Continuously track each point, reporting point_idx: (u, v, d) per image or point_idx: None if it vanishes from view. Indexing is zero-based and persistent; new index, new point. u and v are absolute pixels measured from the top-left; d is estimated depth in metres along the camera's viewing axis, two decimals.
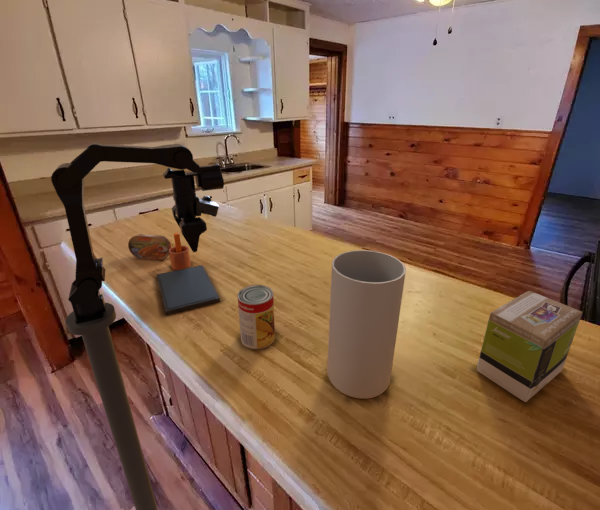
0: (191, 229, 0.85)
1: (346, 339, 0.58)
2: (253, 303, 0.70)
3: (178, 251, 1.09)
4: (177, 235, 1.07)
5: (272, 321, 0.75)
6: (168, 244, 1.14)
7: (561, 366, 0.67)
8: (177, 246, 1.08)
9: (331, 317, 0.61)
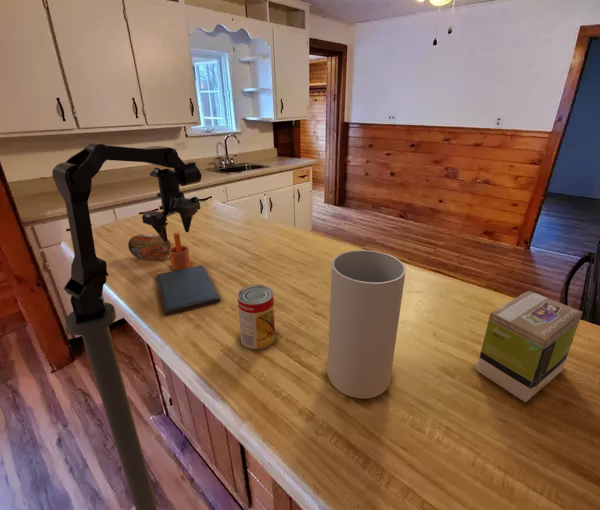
0: (146, 220, 0.97)
1: (346, 339, 0.58)
2: (253, 303, 0.70)
3: (178, 251, 1.09)
4: (177, 235, 1.07)
5: (272, 321, 0.75)
6: (168, 244, 1.14)
7: (561, 366, 0.67)
8: (177, 246, 1.08)
9: (331, 317, 0.61)
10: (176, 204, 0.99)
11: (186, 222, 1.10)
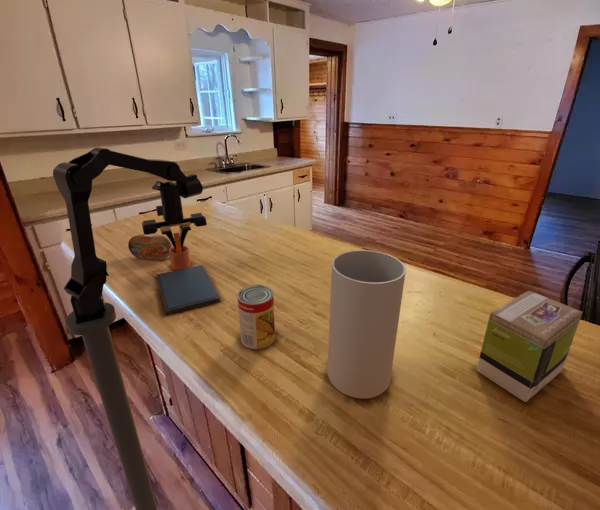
0: None
1: (346, 339, 0.58)
2: (253, 303, 0.70)
3: (178, 251, 1.09)
4: (177, 235, 1.07)
5: (272, 321, 0.75)
6: (168, 244, 1.14)
7: (561, 366, 0.67)
8: (177, 246, 1.08)
9: (331, 317, 0.61)
10: None
11: None
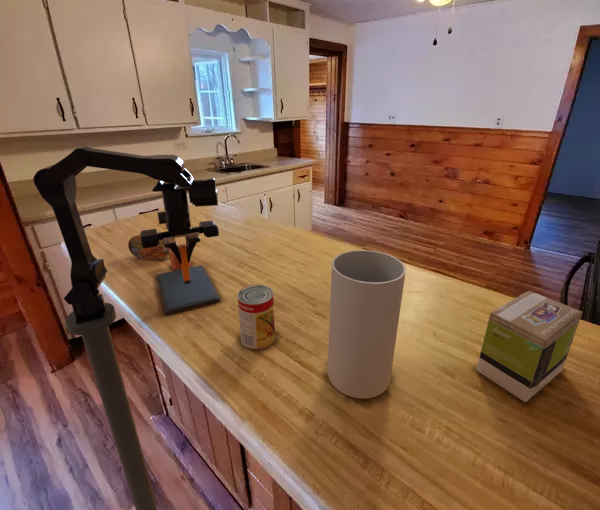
0: None
1: (346, 339, 0.58)
2: (253, 303, 0.70)
3: (184, 267, 0.90)
4: (183, 248, 0.88)
5: (272, 321, 0.75)
6: None
7: (561, 366, 0.67)
8: (183, 261, 0.89)
9: (331, 317, 0.61)
10: None
11: None
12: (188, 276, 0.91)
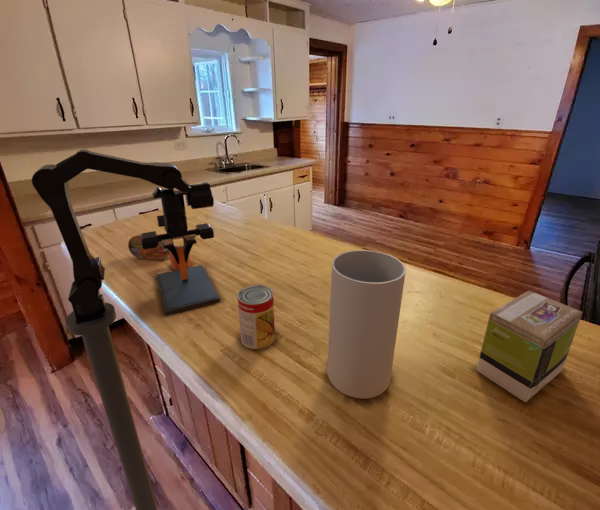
0: None
1: (346, 339, 0.58)
2: (253, 303, 0.70)
3: (182, 267, 0.96)
4: (181, 249, 0.94)
5: (272, 321, 0.75)
6: None
7: (561, 366, 0.67)
8: (181, 261, 0.95)
9: (331, 317, 0.61)
10: None
11: None
12: (186, 275, 0.98)
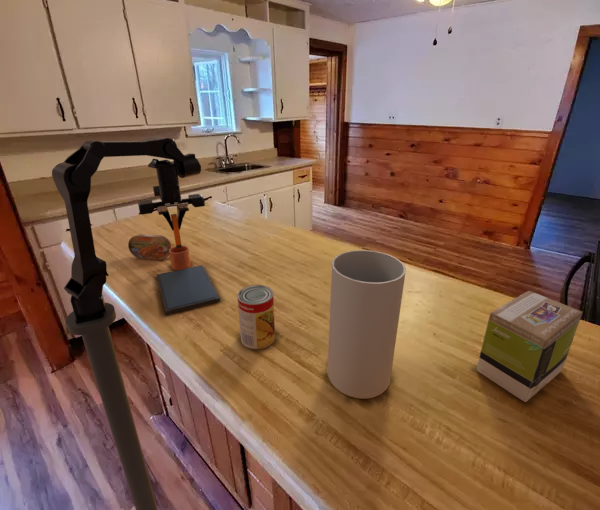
0: None
1: (346, 339, 0.58)
2: (253, 303, 0.70)
3: (176, 233, 1.06)
4: (174, 216, 1.04)
5: (272, 321, 0.75)
6: (168, 244, 1.14)
7: (561, 366, 0.67)
8: (175, 228, 1.05)
9: (331, 317, 0.61)
10: None
11: None
12: (179, 241, 1.07)
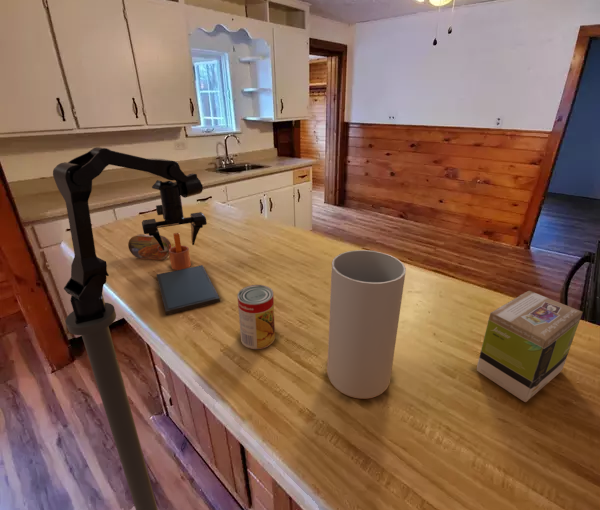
0: None
1: (346, 339, 0.58)
2: (253, 303, 0.70)
3: (178, 251, 1.09)
4: (177, 235, 1.07)
5: (272, 321, 0.75)
6: (168, 244, 1.14)
7: (561, 366, 0.67)
8: (177, 246, 1.08)
9: (331, 317, 0.61)
10: None
11: None
12: None
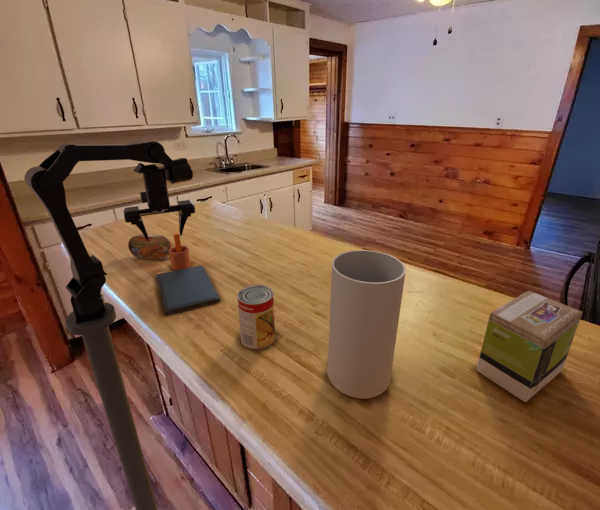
0: None
1: (346, 339, 0.58)
2: (253, 303, 0.70)
3: (178, 251, 1.09)
4: (177, 235, 1.07)
5: (272, 321, 0.75)
6: (168, 244, 1.14)
7: (561, 366, 0.67)
8: (177, 246, 1.08)
9: (331, 317, 0.61)
10: None
11: (145, 229, 0.97)
12: None
